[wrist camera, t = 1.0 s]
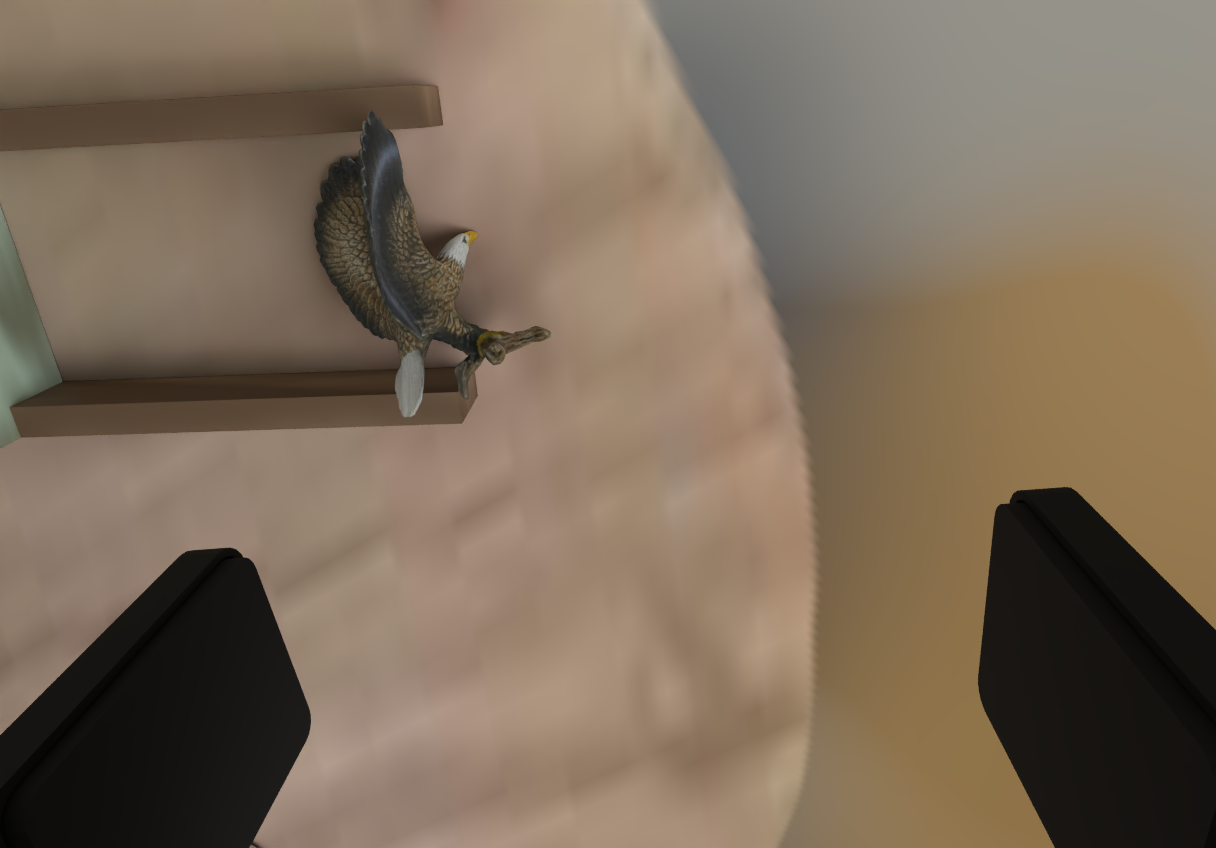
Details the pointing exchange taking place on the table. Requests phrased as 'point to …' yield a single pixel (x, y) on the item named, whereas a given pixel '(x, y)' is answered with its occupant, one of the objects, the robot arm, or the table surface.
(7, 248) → the walnut guide
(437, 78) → the table surface
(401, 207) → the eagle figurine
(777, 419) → the table surface
